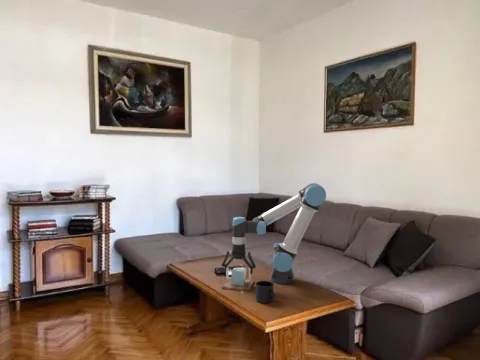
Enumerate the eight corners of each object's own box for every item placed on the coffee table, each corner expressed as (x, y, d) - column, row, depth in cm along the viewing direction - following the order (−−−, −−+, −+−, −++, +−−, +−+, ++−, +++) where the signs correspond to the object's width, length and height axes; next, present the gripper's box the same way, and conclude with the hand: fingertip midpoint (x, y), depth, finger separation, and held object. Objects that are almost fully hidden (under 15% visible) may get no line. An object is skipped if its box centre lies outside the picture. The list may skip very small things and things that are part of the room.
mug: (267, 306, 190) (268, 289, 189) (251, 299, 199) (252, 283, 198) (280, 302, 196) (280, 285, 196) (264, 295, 205) (264, 279, 205)
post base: (253, 281, 228) (253, 270, 228) (249, 290, 212) (249, 278, 212) (228, 280, 231) (228, 268, 231) (222, 288, 215) (222, 276, 215)
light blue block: (245, 281, 224) (245, 267, 224) (243, 285, 217) (243, 271, 217) (233, 281, 226) (234, 267, 225) (231, 284, 219) (231, 270, 218)
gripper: (260, 243, 222) (260, 278, 223) (219, 240, 226) (219, 275, 227) (258, 245, 214) (258, 282, 215) (216, 243, 219) (216, 279, 220)
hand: (238, 278), depth 221 cm, fingers open, 13 cm apart
